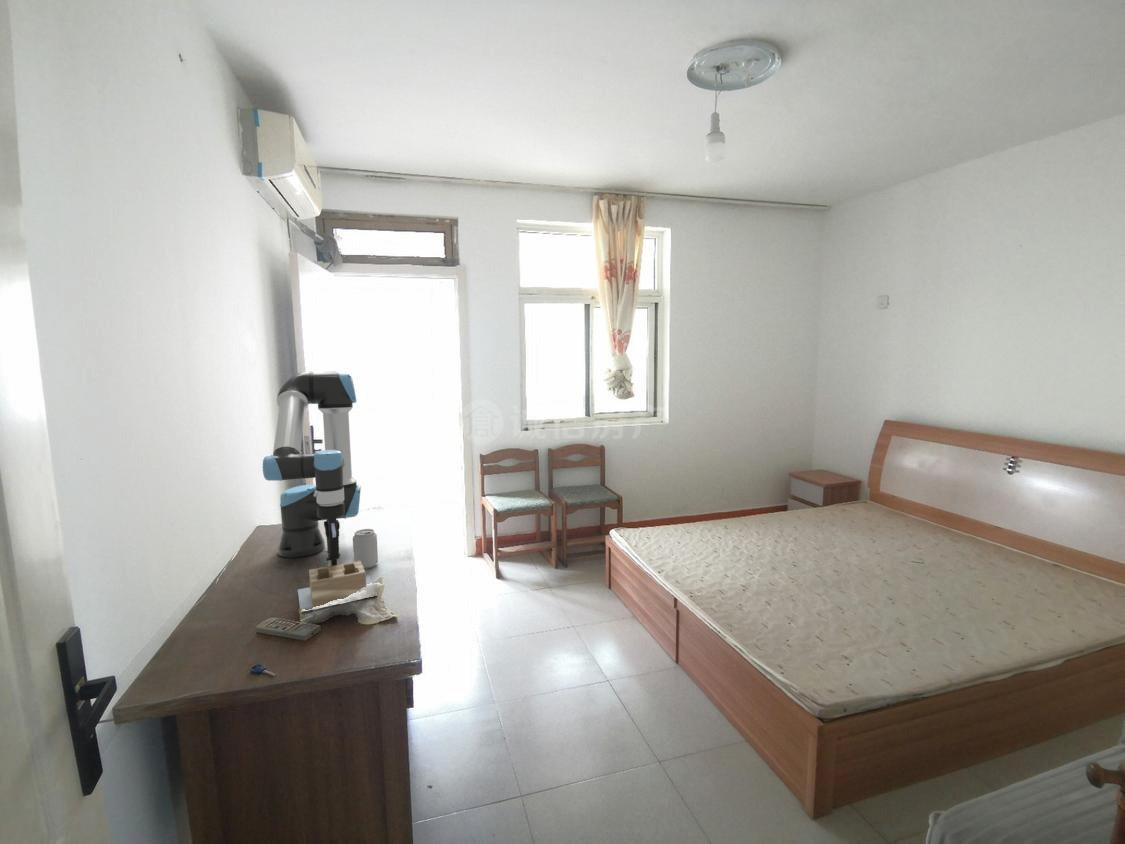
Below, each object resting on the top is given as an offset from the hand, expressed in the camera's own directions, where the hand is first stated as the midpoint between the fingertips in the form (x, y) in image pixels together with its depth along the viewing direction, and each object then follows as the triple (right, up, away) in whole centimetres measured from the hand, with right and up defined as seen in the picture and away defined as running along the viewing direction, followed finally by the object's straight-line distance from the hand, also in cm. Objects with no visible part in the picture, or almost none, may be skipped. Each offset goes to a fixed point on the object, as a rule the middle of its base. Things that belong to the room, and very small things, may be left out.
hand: (334, 579), depth 156 cm
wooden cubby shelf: (+4, -3, -6) cm, 8 cm away
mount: (+2, -3, -4) cm, 6 cm away
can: (+3, -1, +18) cm, 18 cm away
